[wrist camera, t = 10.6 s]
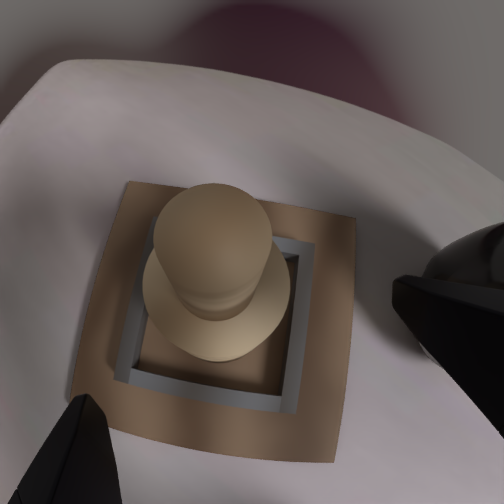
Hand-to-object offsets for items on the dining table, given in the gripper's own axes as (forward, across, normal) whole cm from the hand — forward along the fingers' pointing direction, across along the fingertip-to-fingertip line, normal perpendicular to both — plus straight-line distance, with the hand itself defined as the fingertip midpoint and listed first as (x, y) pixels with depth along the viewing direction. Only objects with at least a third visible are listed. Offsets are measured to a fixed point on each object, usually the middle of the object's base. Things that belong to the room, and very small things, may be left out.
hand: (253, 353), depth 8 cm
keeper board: (+12, 0, +7) cm, 13 cm away
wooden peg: (+11, 0, +6) cm, 12 cm away
